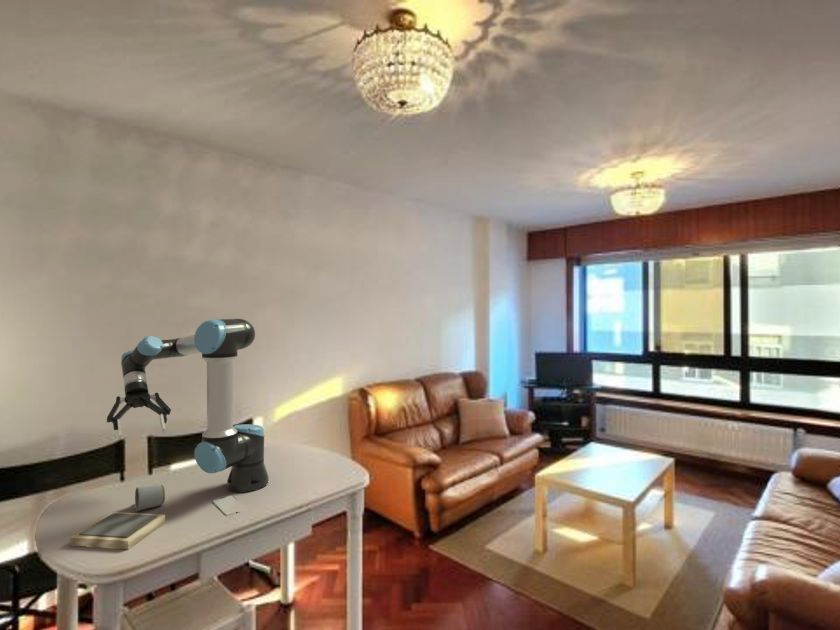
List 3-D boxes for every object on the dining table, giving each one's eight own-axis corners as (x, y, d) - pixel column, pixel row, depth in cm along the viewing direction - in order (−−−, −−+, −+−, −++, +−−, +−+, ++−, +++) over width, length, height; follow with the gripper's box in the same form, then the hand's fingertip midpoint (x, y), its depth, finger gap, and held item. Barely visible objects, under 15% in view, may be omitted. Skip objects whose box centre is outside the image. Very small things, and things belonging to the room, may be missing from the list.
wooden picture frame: (165, 522, 144) (165, 513, 144) (128, 549, 128) (128, 539, 128) (112, 519, 146) (112, 510, 146) (70, 545, 130) (69, 535, 130)
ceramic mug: (166, 507, 155) (165, 485, 155) (138, 514, 149) (138, 491, 149) (158, 497, 163) (158, 476, 163) (132, 504, 157) (132, 482, 157)
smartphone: (225, 515, 149) (211, 500, 160) (225, 517, 149) (211, 502, 160) (248, 509, 154) (232, 494, 165) (248, 511, 154) (232, 496, 165)
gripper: (170, 388, 184) (178, 433, 173) (95, 395, 168) (99, 445, 157) (173, 377, 180) (182, 422, 169) (97, 383, 164) (101, 434, 153)
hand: (142, 433), depth 163 cm, fingers open, 13 cm apart
